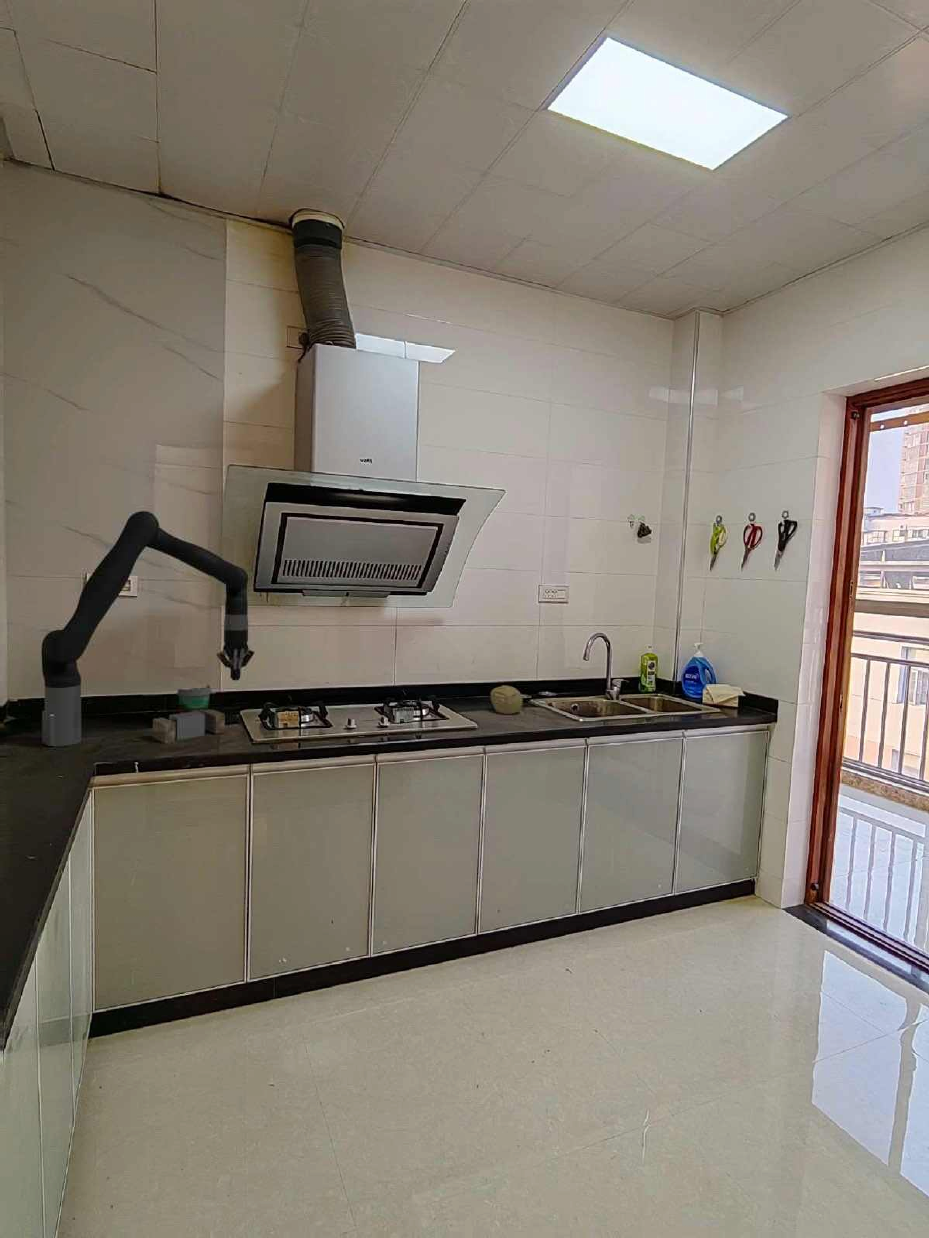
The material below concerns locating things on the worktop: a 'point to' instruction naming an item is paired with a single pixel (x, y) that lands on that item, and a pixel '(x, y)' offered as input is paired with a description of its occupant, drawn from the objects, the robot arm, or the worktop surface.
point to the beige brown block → (164, 730)
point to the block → (189, 724)
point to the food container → (194, 699)
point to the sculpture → (506, 699)
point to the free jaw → (214, 721)
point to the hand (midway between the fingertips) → (235, 679)
